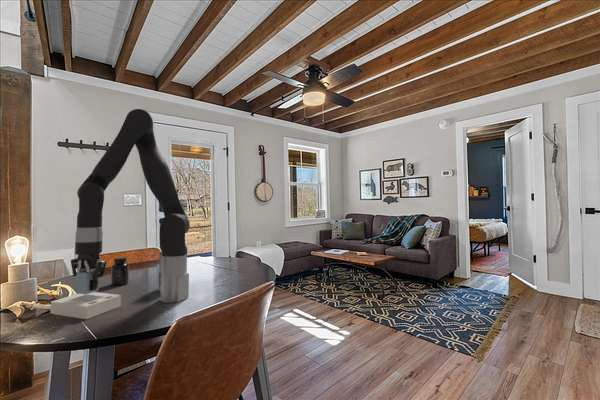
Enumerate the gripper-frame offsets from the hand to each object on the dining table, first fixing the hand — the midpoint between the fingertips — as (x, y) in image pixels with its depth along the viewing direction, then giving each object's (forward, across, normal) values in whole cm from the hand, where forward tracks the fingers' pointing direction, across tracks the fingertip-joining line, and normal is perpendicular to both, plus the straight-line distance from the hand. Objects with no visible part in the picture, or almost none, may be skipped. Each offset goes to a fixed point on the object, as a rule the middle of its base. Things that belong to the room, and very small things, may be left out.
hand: (87, 289), depth 95 cm
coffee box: (+7, -8, -30) cm, 32 cm away
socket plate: (+7, 0, 0) cm, 7 cm away
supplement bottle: (+7, +18, -28) cm, 34 cm away
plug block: (+1, 0, 0) cm, 1 cm away
